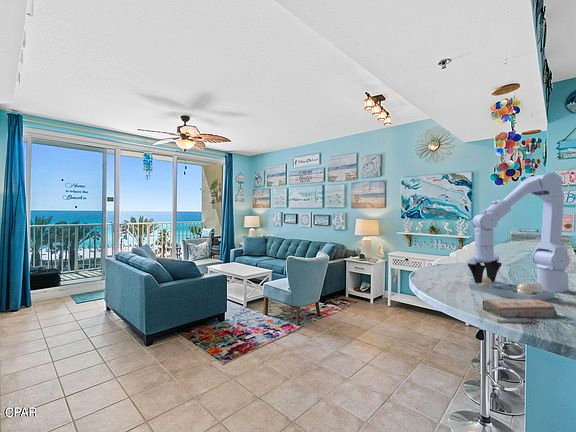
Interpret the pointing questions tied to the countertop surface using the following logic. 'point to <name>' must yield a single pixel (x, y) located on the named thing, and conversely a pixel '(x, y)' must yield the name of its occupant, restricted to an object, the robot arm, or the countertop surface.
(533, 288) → the seated egg
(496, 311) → the packaged product
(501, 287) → the egg carton
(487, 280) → the loose egg
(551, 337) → the countertop surface
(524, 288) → the seated egg
